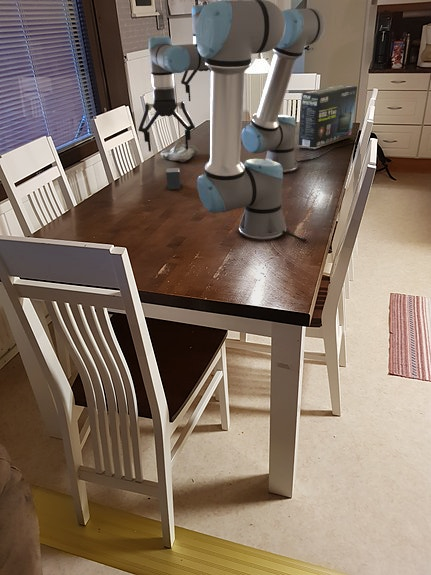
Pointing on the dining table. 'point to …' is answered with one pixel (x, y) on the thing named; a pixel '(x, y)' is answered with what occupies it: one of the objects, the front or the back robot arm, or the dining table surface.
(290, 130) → the back robot arm
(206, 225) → the dining table surface
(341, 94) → the router box
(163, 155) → the fossil
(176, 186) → the brick
